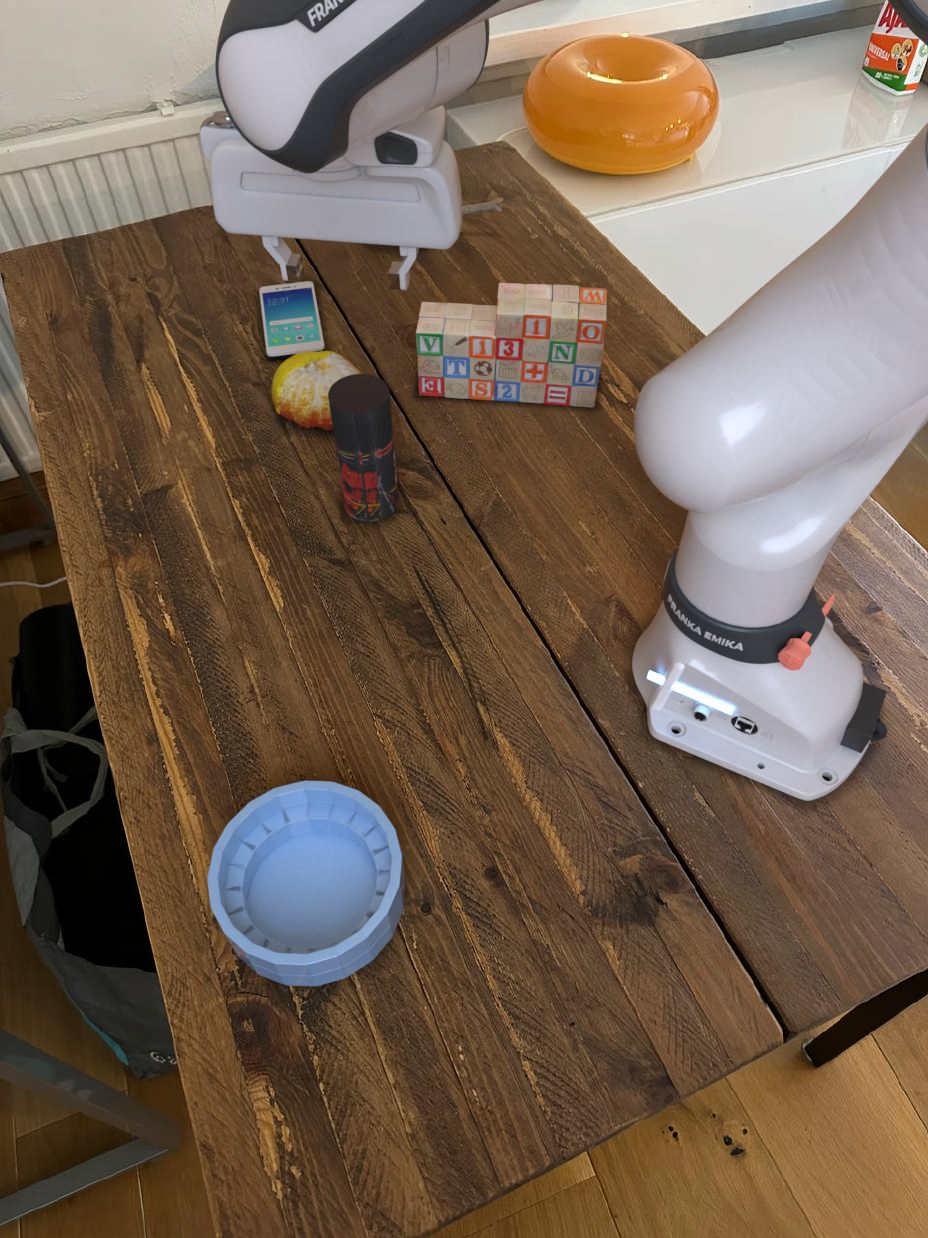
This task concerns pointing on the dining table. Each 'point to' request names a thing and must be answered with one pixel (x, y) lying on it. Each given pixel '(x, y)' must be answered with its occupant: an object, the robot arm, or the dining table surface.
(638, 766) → the dining table surface
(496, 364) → the stack of blocks
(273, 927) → the bowl
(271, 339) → the smartphone
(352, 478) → the deodorant
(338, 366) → the fruit
